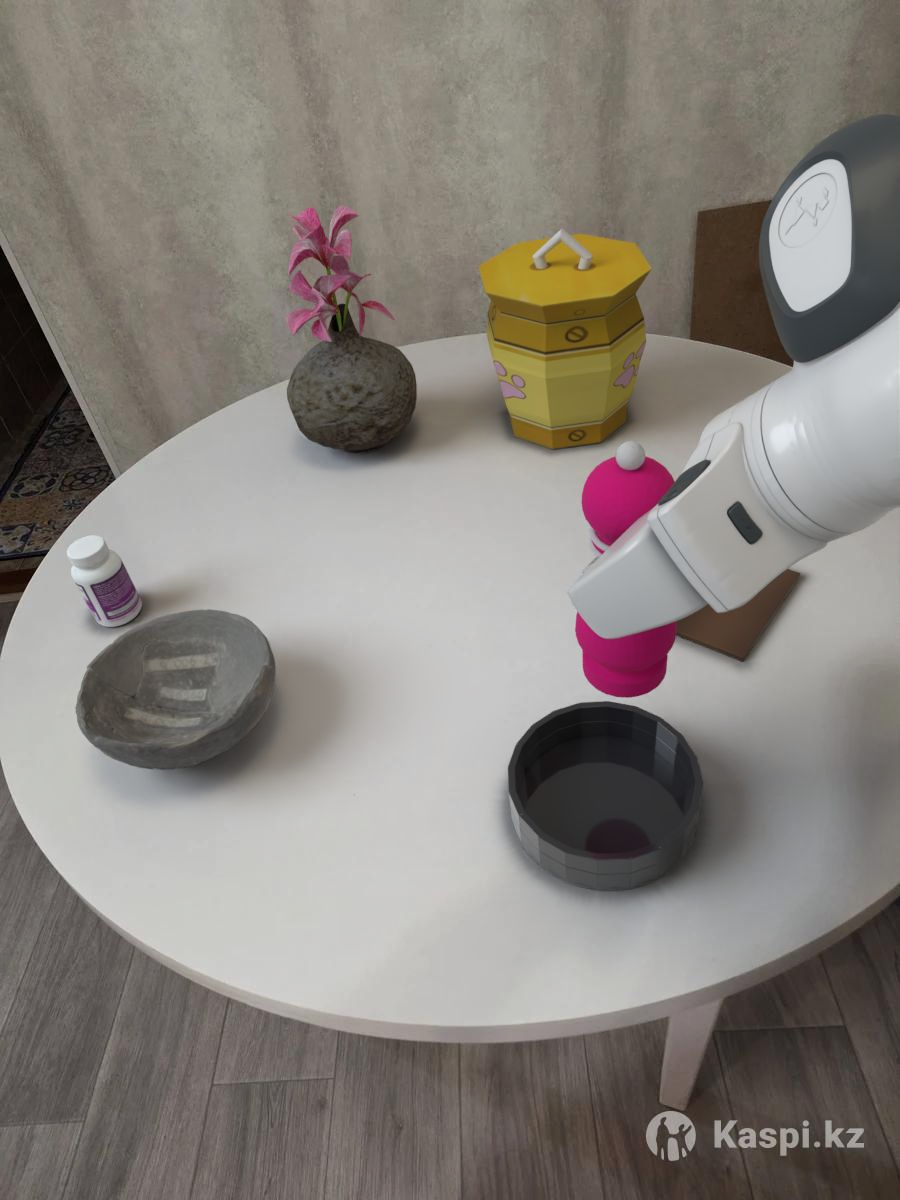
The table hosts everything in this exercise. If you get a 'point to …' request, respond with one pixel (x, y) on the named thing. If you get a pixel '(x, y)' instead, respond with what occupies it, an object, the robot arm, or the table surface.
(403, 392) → the vase
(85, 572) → the pill bottle
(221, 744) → the bowl
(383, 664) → the table surface
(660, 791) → the pan
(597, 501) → the pepper mill
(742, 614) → the trivet
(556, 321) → the container
